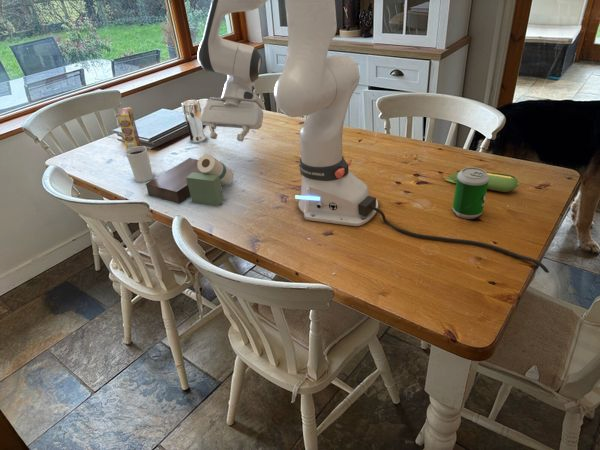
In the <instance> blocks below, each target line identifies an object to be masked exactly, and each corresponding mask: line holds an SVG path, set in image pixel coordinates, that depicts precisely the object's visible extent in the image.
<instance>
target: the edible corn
mask: <svg viewBox="0 0 600 450" xmlns="http://www.w3.org/2000/svg"><path fill="white" fill-rule="evenodd" d="M460 171H461V170H456V171H455V172H456V173H452V174H450V175H448V176H447V177H448V178H444V180H445V181H446V182H450V183H454V184H456V181H457V175H458V173H459V172H460ZM485 172H486V173H487V174H488V176H489V182H488V187H487V190H489V191H493V192H494V191H495V192H500V193H509V192H512V191H514V190H516V189H517V187H519V186H520V181H518V178H516V176H514V175H510V174H507V173H501V172H500V173H499V172H487V171H485Z"/></svg>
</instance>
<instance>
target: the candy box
mask: <svg viewBox="0 0 600 450" xmlns="http://www.w3.org/2000/svg"><path fill="white" fill-rule="evenodd" d="M132 109H133V108H132V107H131V106H127V107H122V108H119V112H118V113H117V119H118V122H119V123H118V124H119V126H120V130H121V133H122V137H123V141H124V145H125V149H126V150H128V149H130V148H133V147H138V146H141V145H142V144H141V140H140V136H139V132H138V129H137V124H136V121H135V117H134V114H133V110H132Z"/></svg>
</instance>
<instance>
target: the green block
mask: <svg viewBox="0 0 600 450" xmlns="http://www.w3.org/2000/svg"><path fill="white" fill-rule="evenodd" d="M186 179H187V183H188V188H189V192H190V200H191V203H193V204H202V205H208V206H216V207H219V206H220V205H221V204H222V203H223V202H224V200H225V199H224V194H223V193H224V192H223V188H222V185H221V182H220V177H219V175H211V174H203V173H194V172H192V173H191V174H190V175H189V176H188V177H186Z"/></svg>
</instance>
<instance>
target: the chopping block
mask: <svg viewBox="0 0 600 450" xmlns="http://www.w3.org/2000/svg"><path fill="white" fill-rule="evenodd" d="M198 160H199V159H196V158H191V157H189V158H187V159H185V160H183V161H182V162H180V163H179V164H177V165H175V166H174V167H171V168H170V169H168V170H167V171H165V172H163V173H161V174H160V175H158V176H156V177H154V178H152V179H151V180H148V181H147V182H145V187H146V190H147V194H148V196H150V197H154V198H158V199H161V200H165V201H169V202H172V203H175V204H176V203H177V204H181V203H183V202H184V201H186V200H187V199H189V198H191V196H190V192H189V188H188V183H187V179H186V177H188V176H189V175H190V174H191V173H192V172H194V173H202V172H201V171H200V170H199V169H198V167H197V163H198ZM203 174H204V173H203Z"/></svg>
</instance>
